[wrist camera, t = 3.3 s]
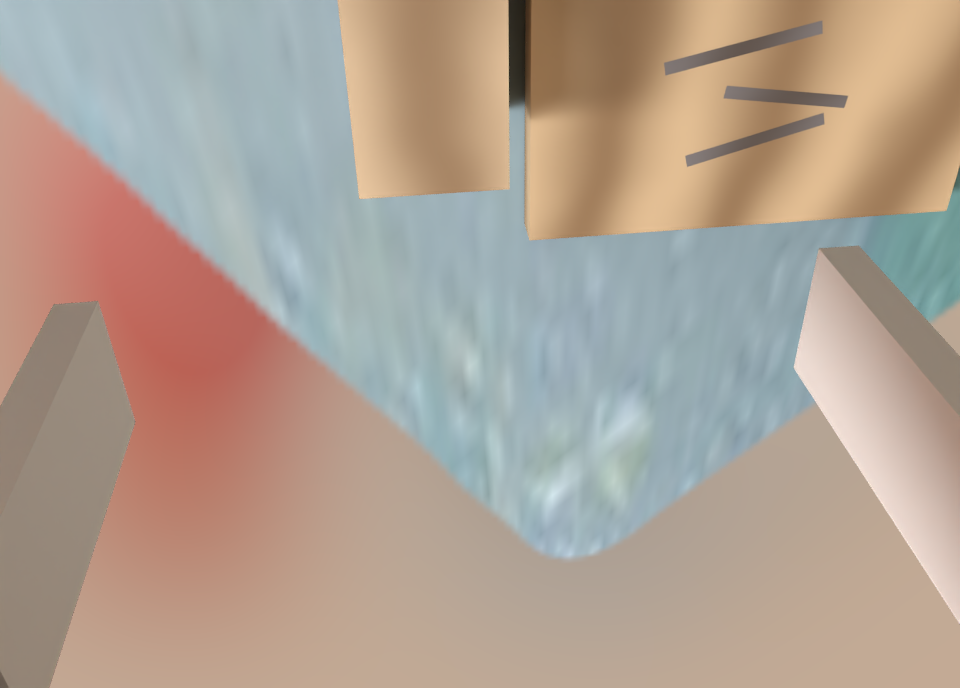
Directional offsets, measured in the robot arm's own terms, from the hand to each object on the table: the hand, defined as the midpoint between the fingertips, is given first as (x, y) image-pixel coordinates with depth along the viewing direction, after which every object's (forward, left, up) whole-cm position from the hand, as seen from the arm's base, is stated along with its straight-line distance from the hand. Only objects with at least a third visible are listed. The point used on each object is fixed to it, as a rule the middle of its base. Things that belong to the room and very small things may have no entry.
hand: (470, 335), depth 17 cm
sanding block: (0, 0, -21) cm, 21 cm away
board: (+13, -3, -21) cm, 25 cm away
